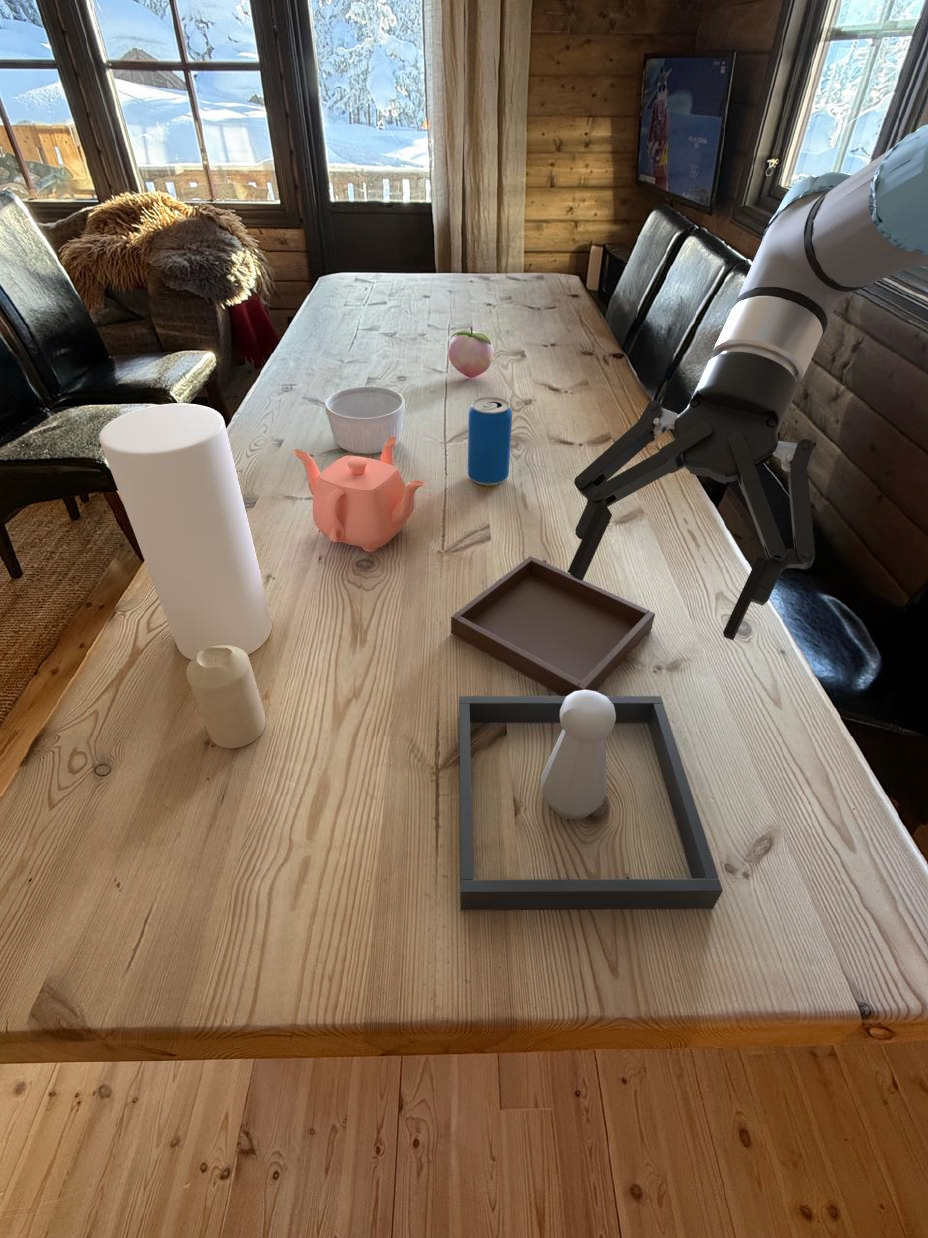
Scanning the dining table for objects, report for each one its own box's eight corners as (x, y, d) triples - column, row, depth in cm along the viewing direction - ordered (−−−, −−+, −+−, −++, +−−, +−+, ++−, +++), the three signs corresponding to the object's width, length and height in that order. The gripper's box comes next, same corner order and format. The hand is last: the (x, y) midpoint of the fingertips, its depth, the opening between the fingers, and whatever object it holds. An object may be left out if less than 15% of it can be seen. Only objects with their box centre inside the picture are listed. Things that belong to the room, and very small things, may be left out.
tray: (651, 630, 77) (655, 613, 75) (580, 707, 68) (584, 689, 66) (528, 571, 85) (529, 555, 84) (450, 633, 76) (450, 616, 75)
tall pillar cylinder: (290, 632, 76) (245, 427, 60) (204, 678, 70) (129, 466, 54) (242, 590, 82) (189, 393, 65) (159, 630, 76) (79, 425, 60)
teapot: (303, 515, 95) (291, 445, 88) (399, 499, 99) (395, 430, 92) (322, 572, 85) (311, 497, 78) (428, 551, 89) (426, 478, 81)
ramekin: (413, 453, 110) (411, 413, 105) (333, 462, 107) (328, 421, 103) (399, 420, 120) (397, 382, 115) (326, 427, 117) (321, 389, 113)
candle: (267, 703, 68) (248, 631, 61) (265, 745, 64) (243, 672, 57) (212, 709, 67) (186, 637, 60) (205, 752, 63) (177, 680, 56)
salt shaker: (551, 765, 62) (567, 668, 54) (610, 787, 60) (636, 691, 52) (528, 813, 58) (541, 717, 50) (590, 839, 56) (615, 744, 48)
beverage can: (516, 477, 104) (522, 404, 96) (489, 492, 101) (492, 417, 93) (486, 463, 107) (489, 391, 100) (459, 477, 104) (459, 404, 96)
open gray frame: (654, 715, 67) (661, 695, 65) (713, 909, 52) (723, 891, 50) (459, 715, 67) (459, 695, 65) (460, 910, 52) (460, 892, 50)
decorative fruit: (499, 374, 137) (502, 323, 131) (484, 387, 132) (486, 336, 125) (458, 367, 140) (459, 317, 134) (442, 380, 135) (441, 329, 128)
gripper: (909, 429, 53) (798, 670, 53) (622, 362, 63) (532, 564, 64) (933, 385, 46) (806, 661, 46) (607, 318, 57) (506, 544, 57)
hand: (647, 605), depth 55 cm, fingers open, 13 cm apart
